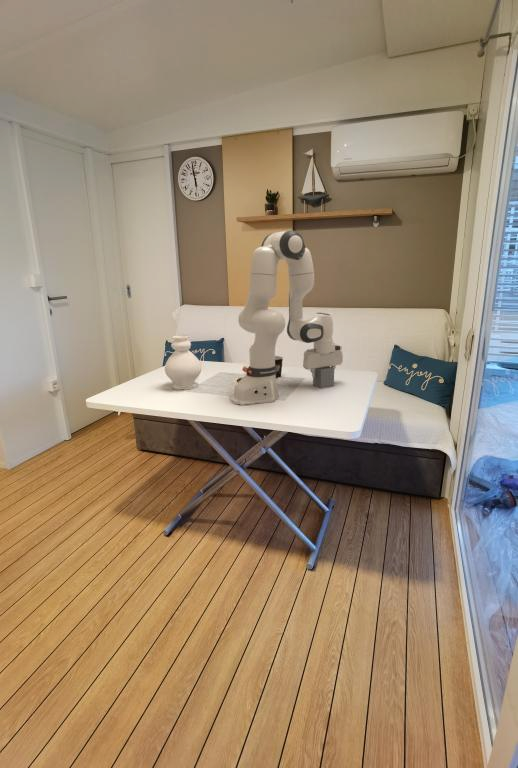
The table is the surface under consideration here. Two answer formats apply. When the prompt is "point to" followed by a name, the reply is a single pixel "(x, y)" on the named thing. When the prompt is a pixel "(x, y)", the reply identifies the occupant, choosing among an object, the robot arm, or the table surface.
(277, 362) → the coffee mug
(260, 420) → the table surface
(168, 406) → the table surface
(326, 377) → the grey block
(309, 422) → the table surface
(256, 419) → the table surface
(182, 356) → the decorative vase
